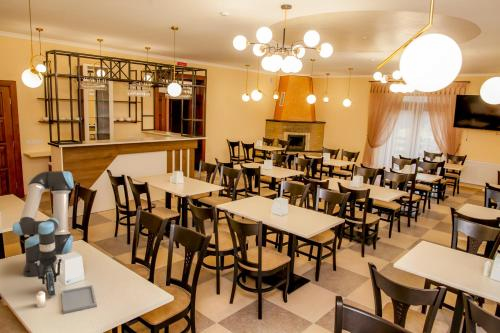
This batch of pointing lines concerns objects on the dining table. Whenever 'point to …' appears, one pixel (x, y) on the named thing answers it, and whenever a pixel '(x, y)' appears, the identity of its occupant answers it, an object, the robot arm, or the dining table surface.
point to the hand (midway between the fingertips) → (49, 287)
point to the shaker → (40, 299)
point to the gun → (50, 282)
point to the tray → (78, 299)
